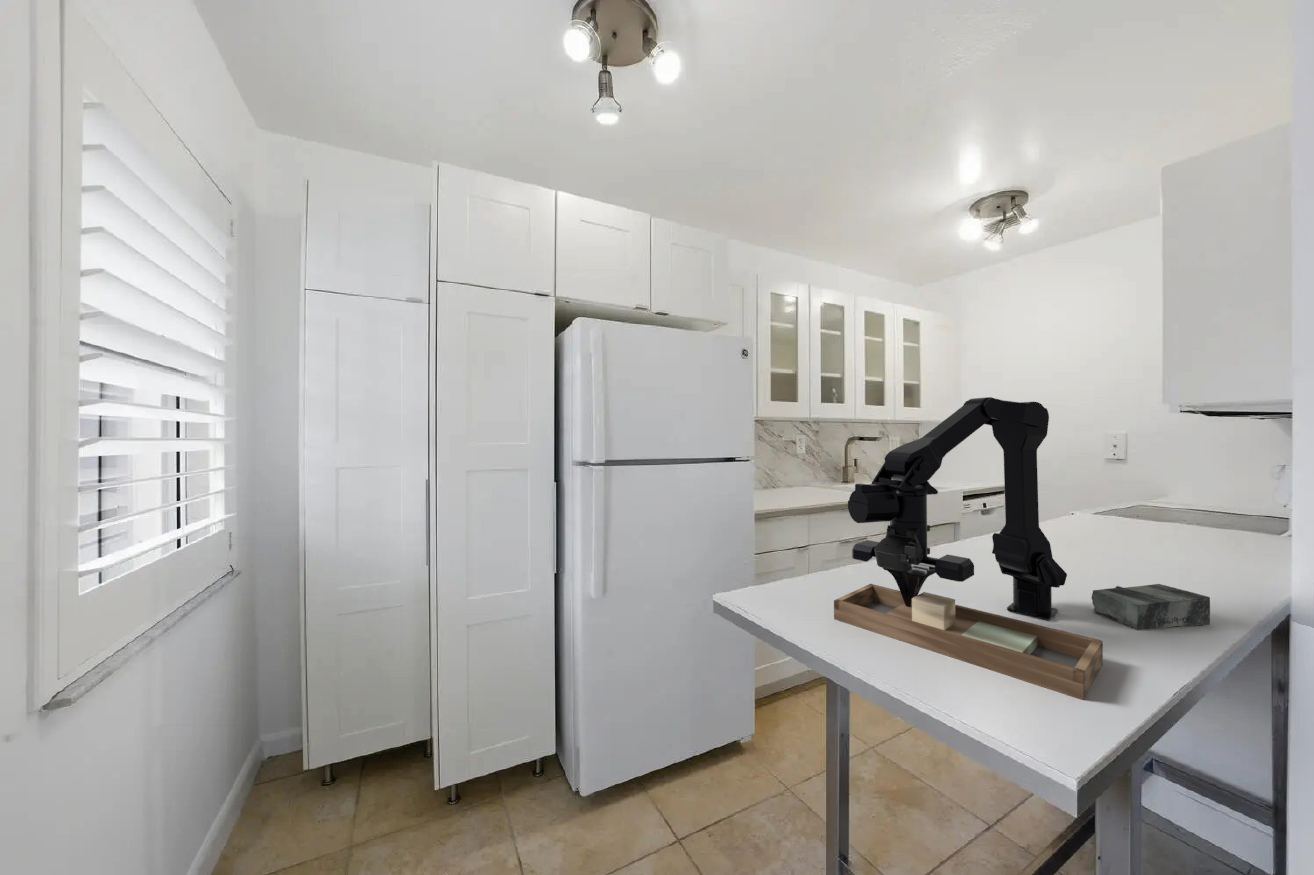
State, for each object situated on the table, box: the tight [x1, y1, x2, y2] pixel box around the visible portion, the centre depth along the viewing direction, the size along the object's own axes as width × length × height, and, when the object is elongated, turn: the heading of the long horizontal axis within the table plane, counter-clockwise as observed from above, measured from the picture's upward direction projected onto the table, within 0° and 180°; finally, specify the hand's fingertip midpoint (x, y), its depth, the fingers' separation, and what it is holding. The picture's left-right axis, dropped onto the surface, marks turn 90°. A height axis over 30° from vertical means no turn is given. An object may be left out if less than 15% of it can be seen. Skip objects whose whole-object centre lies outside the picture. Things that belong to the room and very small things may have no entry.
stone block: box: [1091, 583, 1211, 631], centre depth 86 cm, size 9×14×5 cm, turn 95°
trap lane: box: [833, 583, 1104, 700], centre depth 79 cm, size 14×35×4 cm, turn 39°
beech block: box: [912, 591, 956, 630], centre depth 81 cm, size 5×5×4 cm
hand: (909, 606), depth 84 cm, fingers closed
